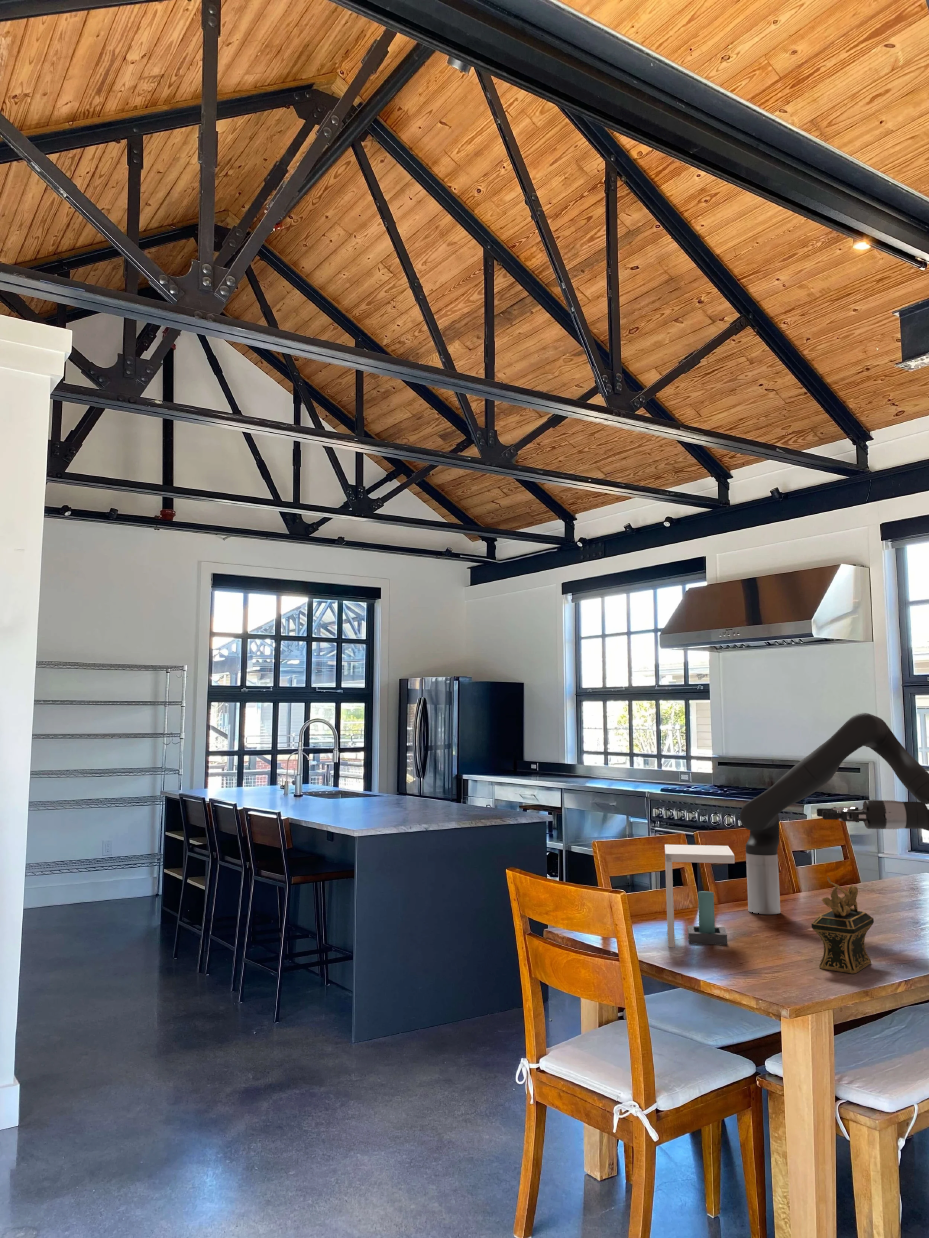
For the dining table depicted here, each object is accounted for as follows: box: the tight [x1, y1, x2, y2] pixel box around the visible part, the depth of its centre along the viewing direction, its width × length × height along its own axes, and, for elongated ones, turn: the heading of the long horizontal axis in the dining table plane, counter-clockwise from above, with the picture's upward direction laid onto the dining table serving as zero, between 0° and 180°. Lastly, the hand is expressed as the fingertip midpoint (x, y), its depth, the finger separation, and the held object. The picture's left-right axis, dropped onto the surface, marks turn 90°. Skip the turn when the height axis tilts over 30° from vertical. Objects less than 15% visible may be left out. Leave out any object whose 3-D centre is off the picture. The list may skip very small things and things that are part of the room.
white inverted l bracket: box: [664, 843, 736, 948], centre depth 232 cm, size 20×17×23 cm
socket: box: [687, 925, 728, 946], centre depth 230 cm, size 10×10×2 cm
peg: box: [697, 890, 716, 933], centre depth 231 cm, size 4×4×12 cm
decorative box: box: [810, 875, 875, 975], centre depth 204 cm, size 20×10×20 cm, turn 140°
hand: (819, 813), depth 238 cm, fingers open, 8 cm apart
